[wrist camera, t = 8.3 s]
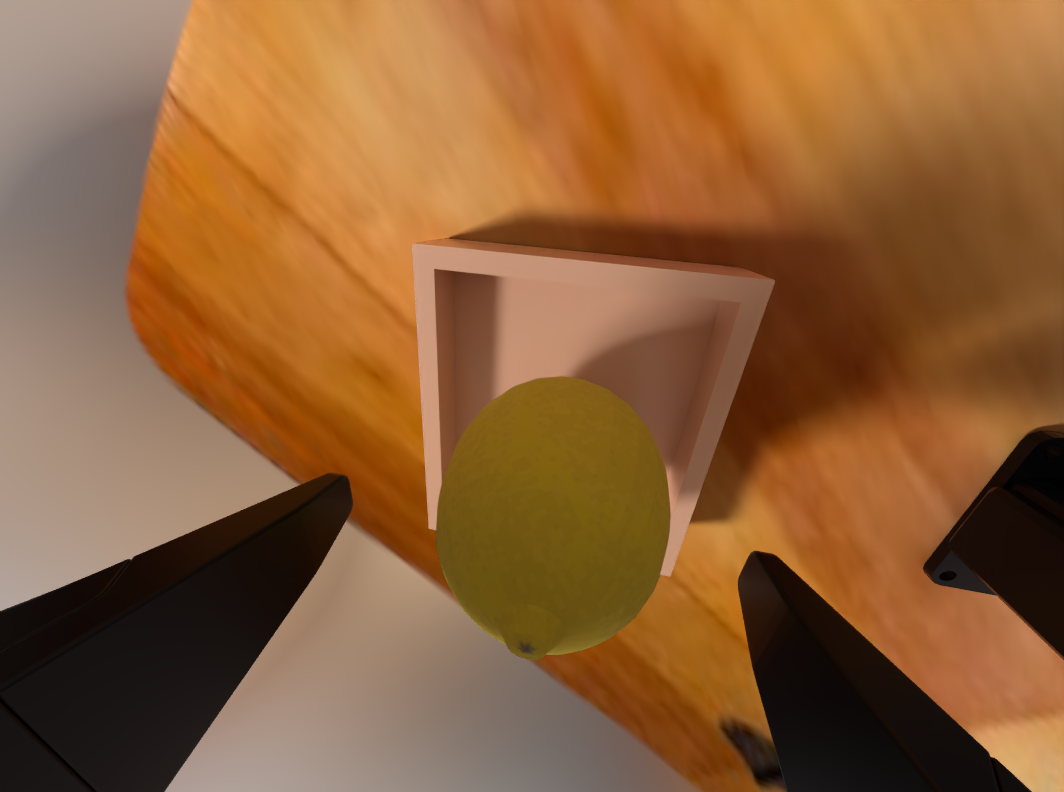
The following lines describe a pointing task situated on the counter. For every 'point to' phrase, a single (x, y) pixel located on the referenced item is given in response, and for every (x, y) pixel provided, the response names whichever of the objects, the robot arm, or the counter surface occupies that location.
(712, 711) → the counter surface
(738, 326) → the dish
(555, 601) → the lemon
